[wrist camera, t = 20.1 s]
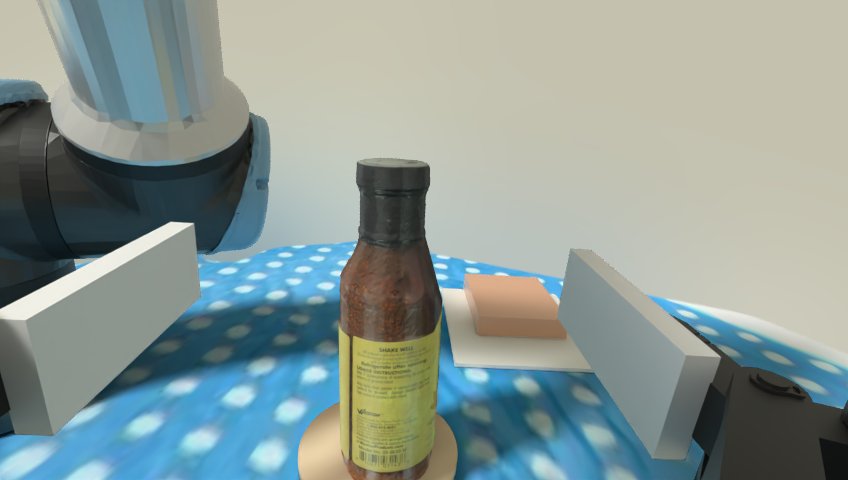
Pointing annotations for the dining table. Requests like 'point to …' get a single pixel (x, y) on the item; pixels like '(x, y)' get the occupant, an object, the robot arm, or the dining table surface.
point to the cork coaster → (324, 459)
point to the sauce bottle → (389, 328)
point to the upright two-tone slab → (512, 307)
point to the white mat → (505, 344)
